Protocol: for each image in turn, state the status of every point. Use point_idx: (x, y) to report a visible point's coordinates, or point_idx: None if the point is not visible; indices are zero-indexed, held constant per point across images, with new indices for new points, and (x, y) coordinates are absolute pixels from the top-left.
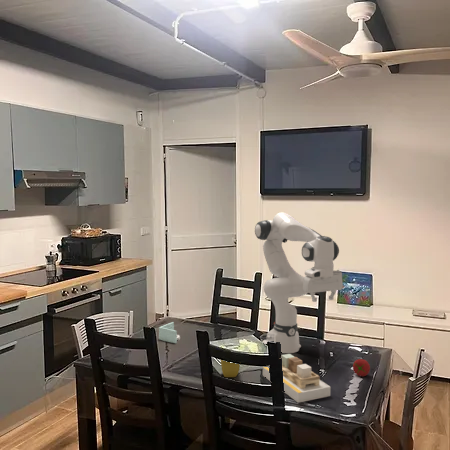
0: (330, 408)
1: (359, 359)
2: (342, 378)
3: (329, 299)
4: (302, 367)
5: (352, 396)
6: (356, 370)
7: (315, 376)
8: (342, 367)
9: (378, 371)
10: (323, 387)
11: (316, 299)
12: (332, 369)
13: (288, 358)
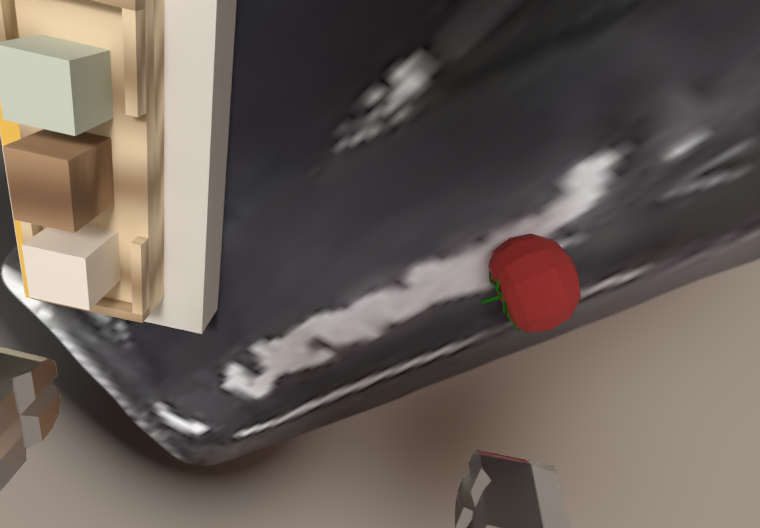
0: (150, 366)
1: (534, 299)
2: (411, 228)
3: (469, 463)
4: (39, 282)
5: (298, 359)
6: (491, 275)
7: (121, 312)
8: (549, 127)
9: (650, 282)
10: (167, 320)
11: (16, 458)
12: (471, 112)
13: (22, 123)
